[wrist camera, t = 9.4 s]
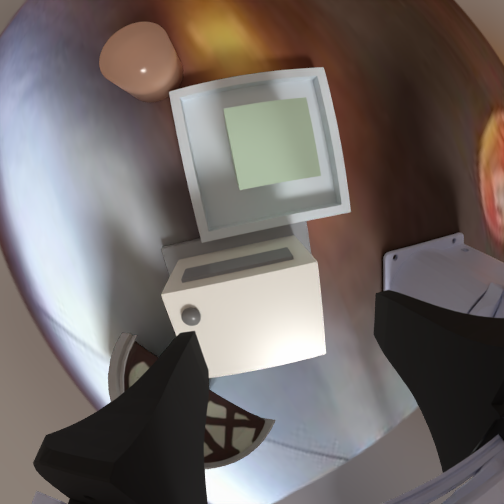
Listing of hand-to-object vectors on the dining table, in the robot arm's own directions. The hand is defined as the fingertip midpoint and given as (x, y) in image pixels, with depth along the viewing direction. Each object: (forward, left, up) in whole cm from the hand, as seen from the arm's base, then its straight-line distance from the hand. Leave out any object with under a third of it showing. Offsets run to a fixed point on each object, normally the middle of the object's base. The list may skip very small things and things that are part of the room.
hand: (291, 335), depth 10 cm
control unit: (+2, +2, -10) cm, 10 cm away
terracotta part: (+5, -14, -10) cm, 18 cm away
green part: (-1, -7, -10) cm, 12 cm away
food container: (+13, +11, -8) cm, 19 cm away
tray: (-1, -7, -10) cm, 12 cm away
